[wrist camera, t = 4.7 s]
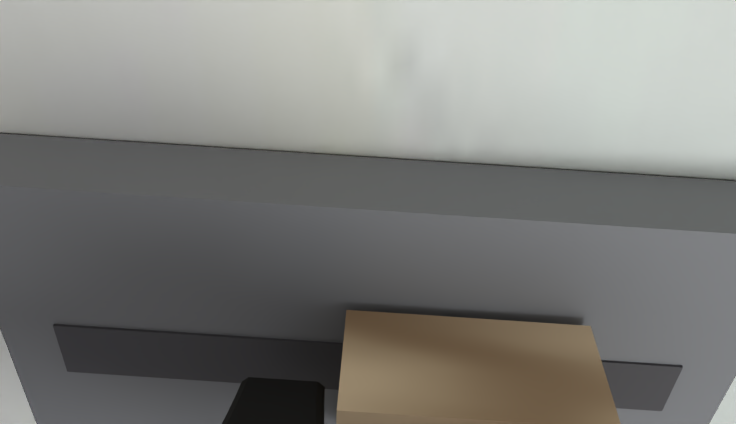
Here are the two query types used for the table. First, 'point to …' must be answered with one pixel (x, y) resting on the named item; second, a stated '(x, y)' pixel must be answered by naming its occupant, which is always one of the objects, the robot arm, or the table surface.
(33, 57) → the table surface
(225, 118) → the table surface
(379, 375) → the block
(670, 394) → the control panel
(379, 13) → the table surface
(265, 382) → the robot arm
